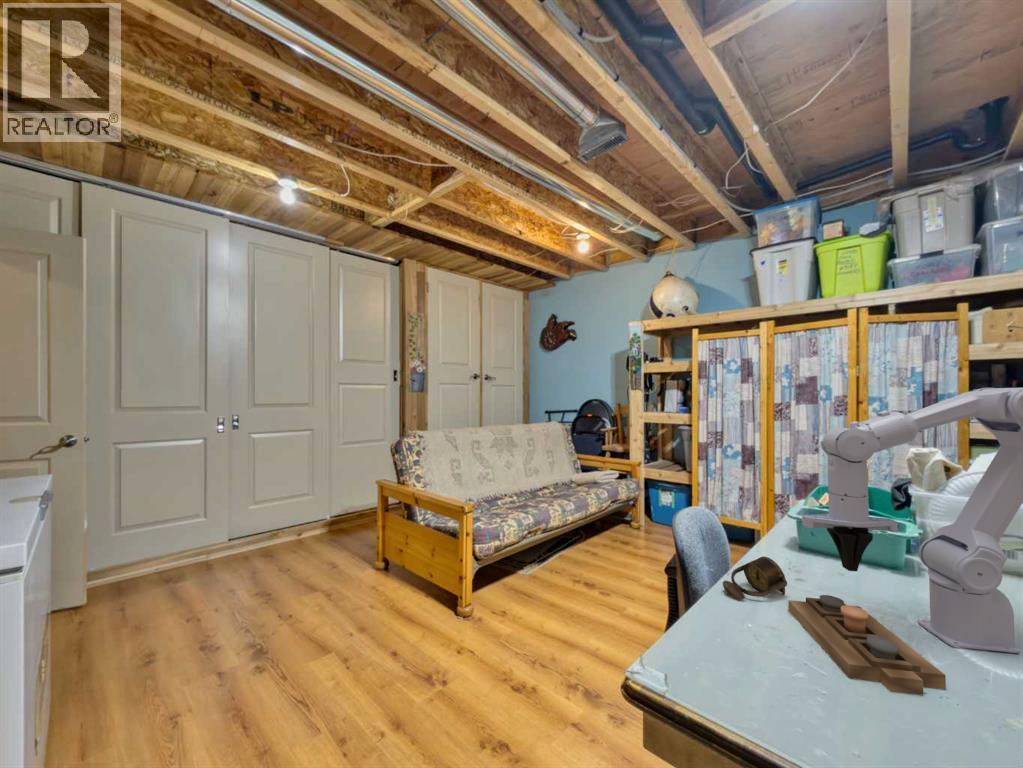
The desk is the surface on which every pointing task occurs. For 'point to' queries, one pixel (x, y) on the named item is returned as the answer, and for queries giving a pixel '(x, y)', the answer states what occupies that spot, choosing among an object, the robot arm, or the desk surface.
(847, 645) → the walnut test board
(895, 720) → the desk surface
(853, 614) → the terracotta plug
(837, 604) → the grey plug far
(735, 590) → the brown watering can
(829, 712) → the desk surface
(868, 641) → the grey plug near
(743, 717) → the desk surface
